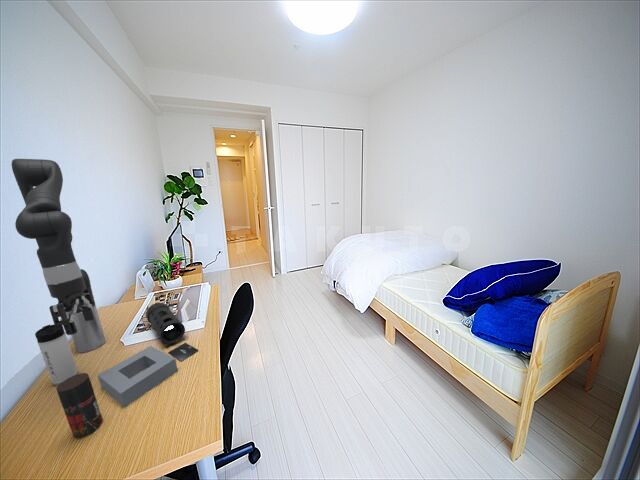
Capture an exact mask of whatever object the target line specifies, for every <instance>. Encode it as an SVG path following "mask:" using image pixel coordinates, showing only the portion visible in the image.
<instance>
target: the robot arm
mask: <svg viewBox="0 0 640 480" xmlns="http://www.w3.org/2000/svg"><path fill="white" fill-rule="evenodd" d="M11 170H12V173H13V175H14V178H15V182H16V183H17V186H18V189H19V191H20V193H21V196H22V198H23V201H24V203H25V204H24V205H25V207H24V208H23V209H22V211H21V212H20V213H19V214H18V215H17V217H16V219H15V223H14V224H15V225H14V226H15V230H16V231H17V233H18V234H19V235H21V237H23V238H26V239H29V240H30V239H31V240H33V239H34V240H35V241H36V244H37V246H38V248H37V250H36V256H37V258H38V260H39V263H40V266H41V269H42V275H43V277H44V281H45V283H46V286H47V289H48V291H49V294H50V296H51V298H53V299H57V302H58V303H57V304H53V305H50V306H49V312H50V314H51V317H52V321H53V325H55V326H58V325H62V326H63V329H64V332H65V334H66V336H71V340H72V342H73V345H74V348H75V351H76V353H79V354H81V353H87V352H91V351H93V350H95V349H97V348H99V347H102V345H104V344H105V343H106V341H107V340H106V336H105V334H104V329H103V325H102V323H101V319H100V315H99V312H98V309H97V305H96V302H95V297H94V294H93V290H92V285H91V280H90V276H89V274H88V272H87V271H86V270H85V269H81V268H80V266H79V263H78V261H77V260H76V256H75V255H74V250H73V247H72V242H73V233H72V227H73V226H72V225H73V224H72V222H73V221H72V218H71V217H70V216H69V215H68V214H67V213H66V212H64V211H62V205H61V192H62V188H63V182H64V179H63V173H62V169H61V167H60V165H59V164H58V163H57V162H56V161H55V160H52V159H51V160H50V159H43V158H42V159H41V158H40V159H39V158H14V159H13V160H11ZM59 318H60V319H59Z"/></svg>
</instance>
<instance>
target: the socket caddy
mask: <svg viewBox="0 0 640 480" xmlns="http://www.w3.org/2000/svg"><path fill="white" fill-rule="evenodd" d="M178 370H179V369H178V364H177V359H176V358H174V357H173V356H171V355H170V354H168V353H165V352H164V351H162V350H160V349H158V348H155V347H154V346H152V345H150V346H148V347H146V348H145V349H143V350H140V351H139V352H137V353H135V354H133V355H132V356H129V357H128V358H126V359H124V360H122V361H120V362H119V363H117V364H115V365H113V366H111V367H110V368H108V369H106V370H104V371H102V372H101V373H99V374H97V378H98V381H99V384H100V385H99V386H100V388H101V389H102V390H103V391H105V392H106V394H108V395H109V396H111V398H112V399H114V400H115V401H116V402H117V403H119V404H120V405H121V406H122V407H123V408H126V407H127V406H129V405H130V404H132V403H133V402H135V401H136V400H138V399H139V398H141V397H142V396H144V395H145V394H147V393H148V392H149V391H150V390H152V389H154V388H155V387H156V386H158V385H159V384H160V383H162V382H163V381H165V380H166V379H168V378H169V377H171V376H172V375H174V374H175V373H176V372H178Z"/></svg>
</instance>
